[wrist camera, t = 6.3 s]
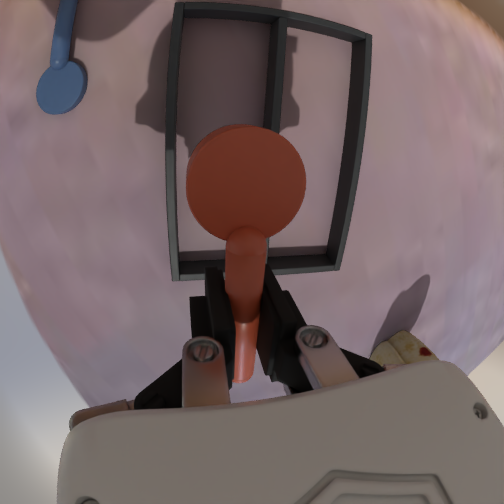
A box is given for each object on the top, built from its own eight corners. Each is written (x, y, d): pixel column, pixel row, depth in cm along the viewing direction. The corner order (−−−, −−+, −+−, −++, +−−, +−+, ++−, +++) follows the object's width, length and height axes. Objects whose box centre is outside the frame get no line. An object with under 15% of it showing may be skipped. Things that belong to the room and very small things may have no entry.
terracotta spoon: (293, 128, 10) (325, 134, 8) (267, 345, 15) (281, 382, 13) (187, 123, 9) (186, 126, 7) (195, 352, 14) (199, 392, 12)
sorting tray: (172, 262, 23) (172, 281, 21) (176, 15, 14) (175, 2, 12) (325, 254, 26) (339, 270, 24) (352, 40, 17) (372, 34, 15)
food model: (377, 369, 40) (435, 465, 22) (351, 366, 37) (412, 477, 20) (416, 324, 36) (491, 418, 19) (393, 315, 34) (478, 426, 16)
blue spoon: (46, 117, 15) (29, 120, 13) (60, -7, 10) (48, -17, 8) (90, 109, 16) (77, 109, 14) (105, -18, 11) (97, -31, 8)
